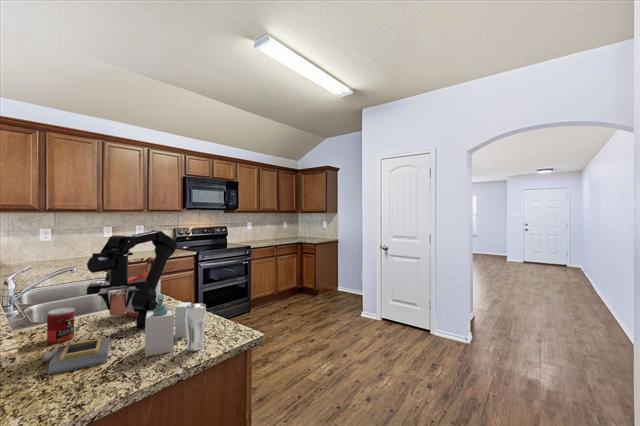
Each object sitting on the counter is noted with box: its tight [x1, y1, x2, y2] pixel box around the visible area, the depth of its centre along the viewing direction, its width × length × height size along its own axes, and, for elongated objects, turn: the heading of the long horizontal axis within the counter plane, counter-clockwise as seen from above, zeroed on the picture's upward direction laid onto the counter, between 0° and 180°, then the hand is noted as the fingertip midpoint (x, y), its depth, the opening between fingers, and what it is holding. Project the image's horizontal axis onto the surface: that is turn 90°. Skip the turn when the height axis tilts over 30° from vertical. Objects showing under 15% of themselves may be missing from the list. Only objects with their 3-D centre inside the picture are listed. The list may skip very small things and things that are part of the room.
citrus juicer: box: [118, 271, 162, 318], centre depth 141 cm, size 16×17×20 cm
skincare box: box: [174, 301, 192, 338], centre depth 117 cm, size 6×4×12 cm
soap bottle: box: [144, 293, 175, 357], centre depth 104 cm, size 9×9×19 cm
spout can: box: [109, 290, 127, 316], centre depth 112 cm, size 5×5×9 cm
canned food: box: [46, 307, 76, 345], centre depth 110 cm, size 8×8×11 cm
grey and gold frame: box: [42, 336, 111, 375], centre depth 95 cm, size 17×14×4 cm
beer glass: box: [185, 302, 207, 352], centre depth 105 cm, size 7×7×15 cm
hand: (117, 309), depth 112 cm, fingers closed on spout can, 5 cm apart
